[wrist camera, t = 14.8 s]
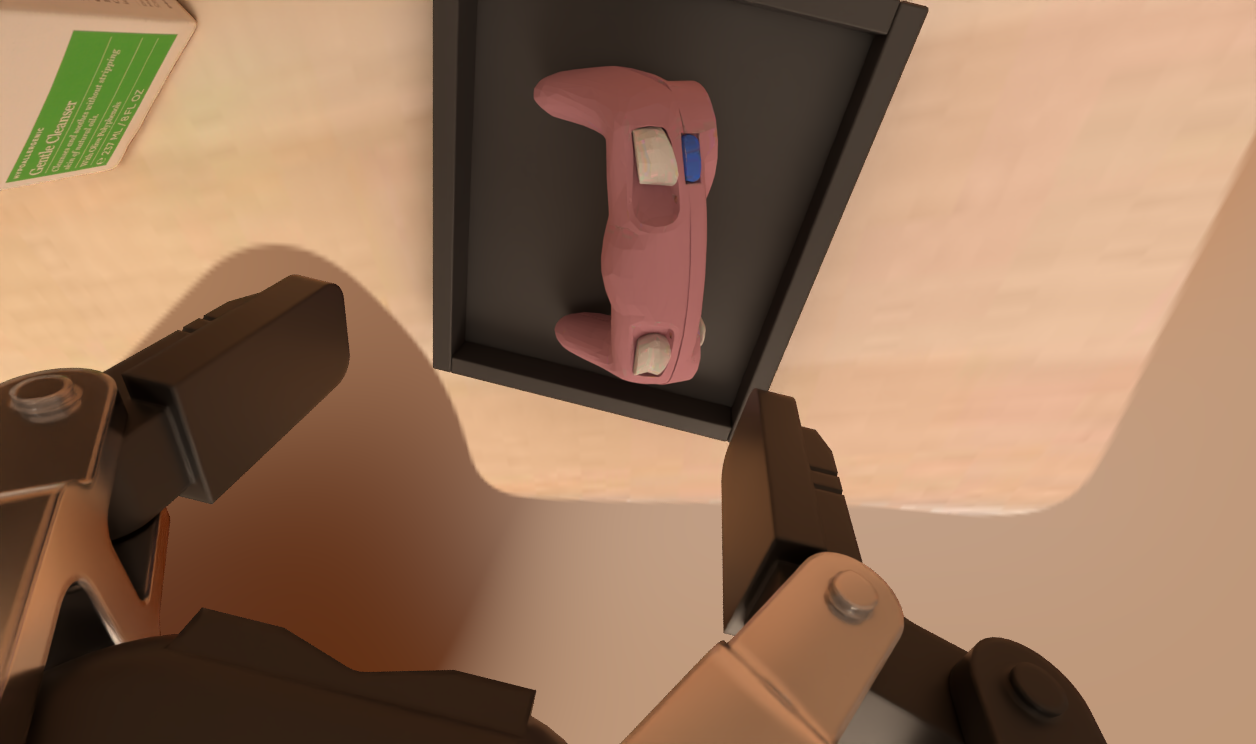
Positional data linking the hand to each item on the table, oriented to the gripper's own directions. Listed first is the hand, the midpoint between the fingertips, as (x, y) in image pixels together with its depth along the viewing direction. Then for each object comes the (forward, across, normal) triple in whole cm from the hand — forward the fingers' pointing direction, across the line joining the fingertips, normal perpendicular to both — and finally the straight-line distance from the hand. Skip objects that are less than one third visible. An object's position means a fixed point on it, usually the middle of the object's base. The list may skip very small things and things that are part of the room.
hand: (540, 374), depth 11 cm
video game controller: (+11, 0, 0) cm, 11 cm away
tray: (+12, 0, 0) cm, 12 cm away
